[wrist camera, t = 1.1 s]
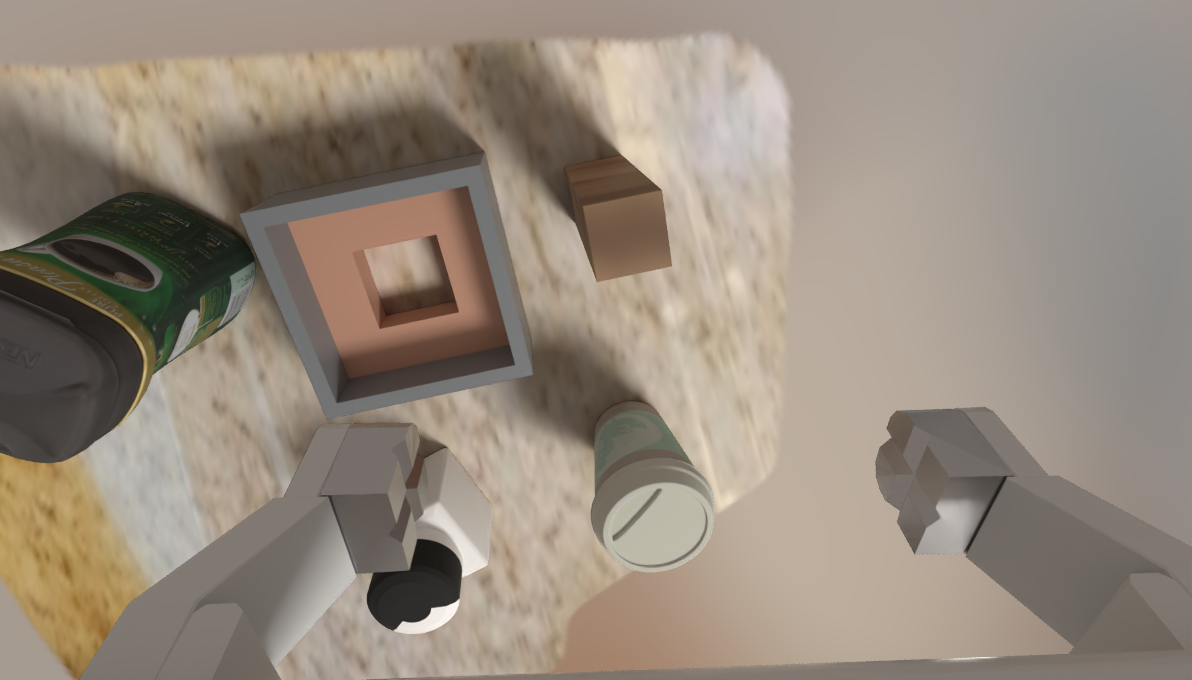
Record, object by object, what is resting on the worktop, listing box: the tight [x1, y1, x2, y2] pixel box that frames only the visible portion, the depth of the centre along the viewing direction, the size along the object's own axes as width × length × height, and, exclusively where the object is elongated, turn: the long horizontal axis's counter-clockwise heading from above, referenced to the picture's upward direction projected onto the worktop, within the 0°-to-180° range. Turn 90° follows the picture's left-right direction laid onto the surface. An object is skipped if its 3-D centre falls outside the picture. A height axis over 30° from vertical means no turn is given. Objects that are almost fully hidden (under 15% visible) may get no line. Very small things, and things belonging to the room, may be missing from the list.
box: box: [239, 152, 533, 419], centre depth 41 cm, size 14×14×6 cm
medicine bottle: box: [367, 448, 491, 634], centre depth 47 cm, size 7×7×12 cm
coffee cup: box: [591, 401, 715, 572], centre depth 46 cm, size 8×8×12 cm
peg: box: [565, 155, 672, 282], centre depth 37 cm, size 4×4×13 cm
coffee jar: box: [0, 192, 256, 463], centre depth 34 cm, size 10×8×19 cm
